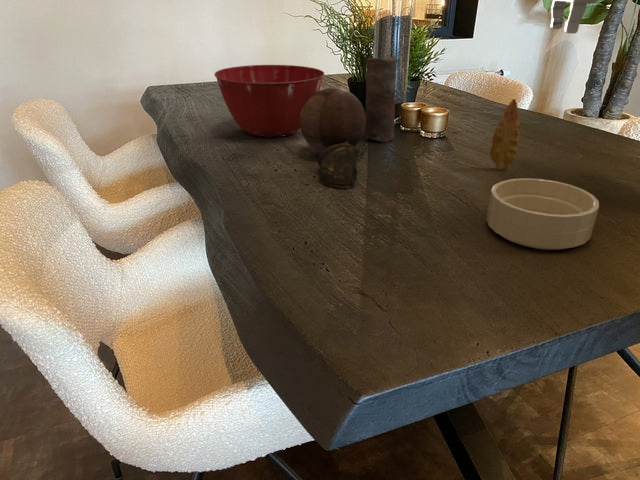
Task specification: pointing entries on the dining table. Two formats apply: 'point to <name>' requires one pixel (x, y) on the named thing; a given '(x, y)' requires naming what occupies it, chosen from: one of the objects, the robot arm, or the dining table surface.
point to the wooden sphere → (332, 119)
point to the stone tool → (506, 137)
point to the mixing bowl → (268, 96)
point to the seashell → (338, 165)
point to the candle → (380, 98)
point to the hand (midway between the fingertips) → (562, 30)
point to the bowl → (542, 213)
